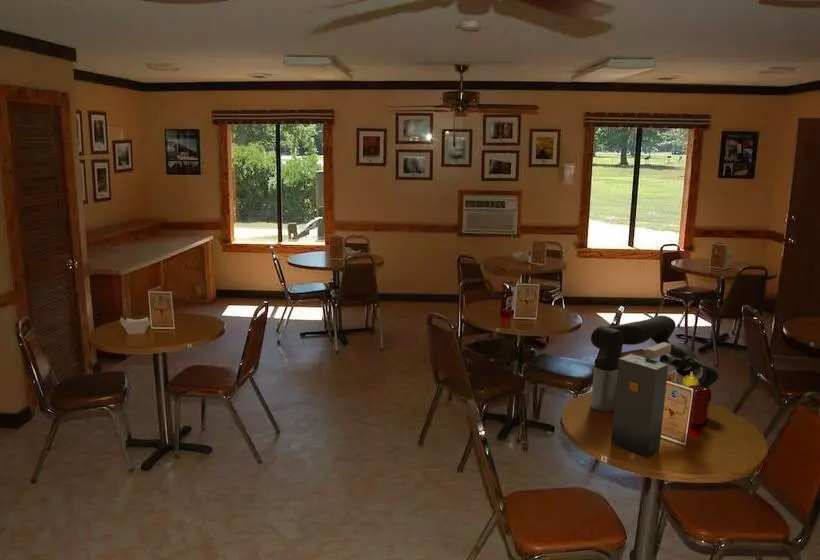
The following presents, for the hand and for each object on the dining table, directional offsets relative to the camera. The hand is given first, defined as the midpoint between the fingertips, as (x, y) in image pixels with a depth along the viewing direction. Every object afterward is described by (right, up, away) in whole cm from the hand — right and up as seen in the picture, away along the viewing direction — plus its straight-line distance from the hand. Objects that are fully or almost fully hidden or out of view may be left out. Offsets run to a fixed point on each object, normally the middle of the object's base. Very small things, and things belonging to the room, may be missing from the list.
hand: (673, 358), depth 241 cm
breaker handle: (-9, +3, -9) cm, 13 cm away
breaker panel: (-17, -30, -8) cm, 36 cm away
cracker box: (-5, -21, +33) cm, 40 cm away
